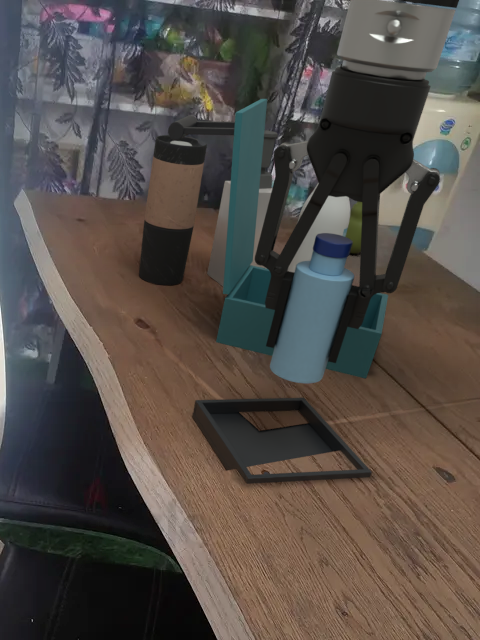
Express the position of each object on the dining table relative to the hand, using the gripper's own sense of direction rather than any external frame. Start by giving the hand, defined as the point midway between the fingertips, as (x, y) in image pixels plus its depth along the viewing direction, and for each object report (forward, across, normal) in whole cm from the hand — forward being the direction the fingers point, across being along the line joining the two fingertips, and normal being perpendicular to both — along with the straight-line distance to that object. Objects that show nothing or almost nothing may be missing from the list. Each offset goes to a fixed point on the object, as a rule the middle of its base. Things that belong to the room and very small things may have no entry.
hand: (302, 349), depth 71 cm
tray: (+12, 0, 0) cm, 12 cm away
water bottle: (+2, 0, 0) cm, 2 cm away
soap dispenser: (+12, -16, +52) cm, 55 cm away
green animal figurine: (+12, +1, +81) cm, 82 cm away
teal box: (+12, -2, +30) cm, 33 cm away
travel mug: (+12, -26, +45) cm, 53 cm away
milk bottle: (+12, -4, +54) cm, 55 cm away
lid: (-6, -13, +30) cm, 34 cm away
